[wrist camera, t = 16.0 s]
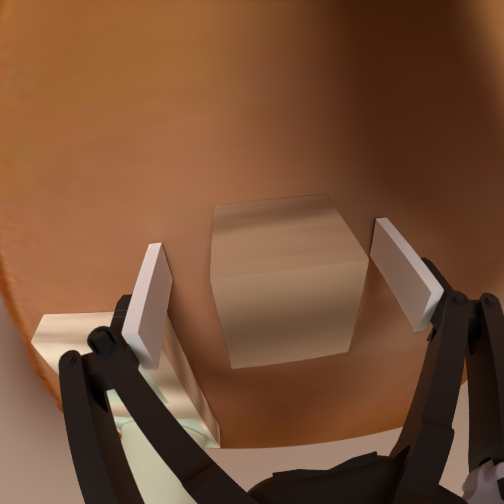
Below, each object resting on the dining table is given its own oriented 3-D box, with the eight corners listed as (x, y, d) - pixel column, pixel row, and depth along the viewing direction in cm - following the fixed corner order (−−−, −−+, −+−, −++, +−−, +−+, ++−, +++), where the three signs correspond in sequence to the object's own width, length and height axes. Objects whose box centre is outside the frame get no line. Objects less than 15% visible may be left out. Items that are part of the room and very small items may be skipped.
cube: (213, 204, 16) (210, 279, 11) (325, 193, 16) (369, 259, 11) (228, 289, 19) (231, 368, 14) (320, 278, 19) (348, 351, 14)
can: (115, 434, 27) (107, 523, 17) (132, 411, 23) (122, 529, 13) (186, 451, 30) (187, 535, 21) (219, 432, 26) (225, 537, 17)
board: (43, 314, 19) (30, 342, 17) (165, 307, 19) (159, 342, 17) (138, 426, 32) (136, 446, 30) (219, 426, 32) (220, 447, 30)
